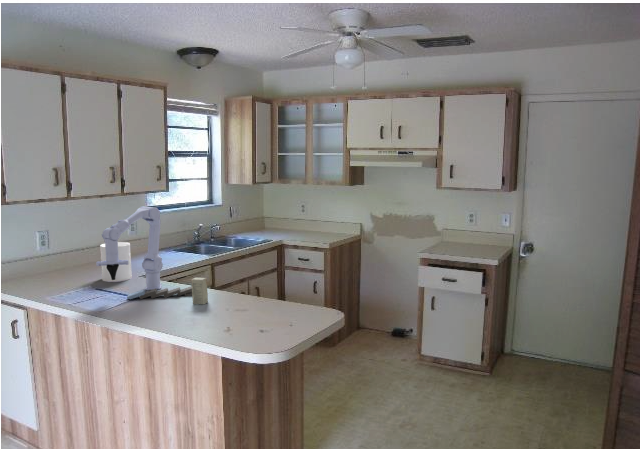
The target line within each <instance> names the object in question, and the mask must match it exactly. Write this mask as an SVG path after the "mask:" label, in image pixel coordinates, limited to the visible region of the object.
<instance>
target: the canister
mask: <svg viewBox="0 0 640 449" xmlns="http://www.w3.org/2000/svg"><path fill="white" fill-rule="evenodd" d="M99 249H100V261H106V250H105V243H102V244H100V245H99ZM118 256H119V260H128V261H129V264H128V265H119V267H118V269H117V272H116V277H115V280H112V278H111V275H110V273H109V271H108V270H107V268H106V267H107V265H105V266H100V267H101V279H102V280H101V281H102V282H108V283H111V282H113V283H115V282H118V283H119V282H125V281H128V280H130V279H132V278H133V276H132V274H133V273H132V258H131V256H132V254H131V243H130V242H127V241H118Z"/></svg>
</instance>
